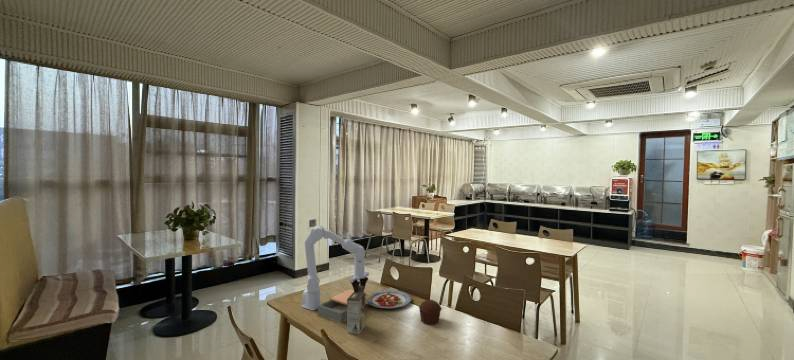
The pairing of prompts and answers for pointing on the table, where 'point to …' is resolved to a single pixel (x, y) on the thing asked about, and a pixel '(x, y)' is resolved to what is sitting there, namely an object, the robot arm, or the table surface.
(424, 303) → the muffin
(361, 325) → the coffee box
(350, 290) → the lid
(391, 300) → the ceramic plate
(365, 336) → the table surface
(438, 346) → the table surface
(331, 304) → the box
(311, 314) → the table surface
